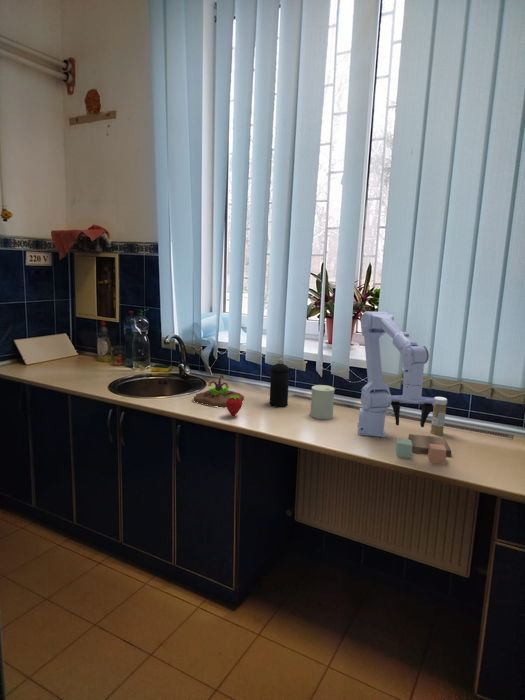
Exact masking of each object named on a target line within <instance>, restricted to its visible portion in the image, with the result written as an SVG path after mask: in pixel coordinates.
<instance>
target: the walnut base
mask: <svg viewBox="0 0 525 700" xmlns="http://www.w3.org/2000/svg"><path fill="white" fill-rule="evenodd" d="M407 440H411V442H412V453H415V454H416V453H417V454H425V455H428V451H429V444H437V445H444V446H445V448H446V457H451V455H452V449H451V447H450V445H449V443H448V442H447V439H446V438H445V437H441V436H433V435H432V436H431V435H424V434H423V435H422V434H413V433H409V434H408V439H407Z"/></svg>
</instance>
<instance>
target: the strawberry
mask: <svg viewBox="0 0 525 700" xmlns="http://www.w3.org/2000/svg"><path fill="white" fill-rule="evenodd" d="M239 397H240V396H237V395H235V396H234V395H233V396H230V397H229V399H228V400H227V402H226V406H227V408H226V409H227V411H228V412H229V415H231V416H232V417H233V416H234V417H236V415H237V414H238V413H239V411H240V410H241V409H242V406H243V402H242V399H241V398H239Z"/></svg>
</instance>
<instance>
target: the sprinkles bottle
mask: <svg viewBox="0 0 525 700" xmlns="http://www.w3.org/2000/svg"><path fill="white" fill-rule="evenodd" d="M433 398H435V399H436V406H435V405H433V408H432V410H433V411H432V415H431V416H432V417H431V425H430V427H431V428H430V431H429V432H430V434H433V435H436V436H441V435H443V434H444V427H445V421H446V412H447V411H446V410H447V404H448V399H447V398H446V397H443V396H434V397H433Z"/></svg>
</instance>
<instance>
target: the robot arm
mask: <svg viewBox="0 0 525 700" xmlns="http://www.w3.org/2000/svg"><path fill="white" fill-rule="evenodd" d="M394 318H395V317H394V315H393V314H392V313H391V312H390V311H388V310H386V311H369V310H368V311H367V310H365V311H364V312H363V314H362V316H361V318H360V329H361V336H363V340H364V341H363V342H364V352H365V364H366V374H367V383H366V384H365V385H364V386H362V388H361V395H360V403H361V406H362V407H359V414H358V422H357V425H356V427H357V429H358V430H357V434H358V436H359V435H360V436H369V437H370V436H371V437H378V438H379V437H380V438H386V431H385V430H386V429H385V423H386V411H388V409H389V408H390V407H392V411H393V413H394V419H395V425H396V426H400V413H401V412H400V411H401V405H400V404H413V405H414V404H415V405H421V415H420V423H419V424H420V427H421V428H425V424H426V421H427V419H428V417H429V415H430V413H431V412H432V410H433V408H434V405H435V406H436V399H435V398H434V397H427V396H422V395H423V381H424V372H425V371H424V369H425V364H427V363H428V361H429V358H430V353H429V350H428V347H427V346H426V345H420V344H418V343H417V341H415V340H414V338H412V337H411V336H410V333H409V332H408V331H401V329H400V328H399V327H398V325H397V324H396V323H395V321H394ZM386 333H387V335H388V336H389V337H391V338H392V344H393V346H394V347H395V349H397V350H398V351H399V353H400V355H401V361H402V367H403V372H404V373H403V382H402V383H403V384H402V385H403V387H402V394H401V395H399V394H397V395H393V394H391V391H390V387H389V386H388V385H387V384H386V383H385V382H384V381H383V371H382V370H383V369H382V359H381V358H382V356H381V347H380V346H381V345H380V338H381V336H383V335H385V334H386Z"/></svg>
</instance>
